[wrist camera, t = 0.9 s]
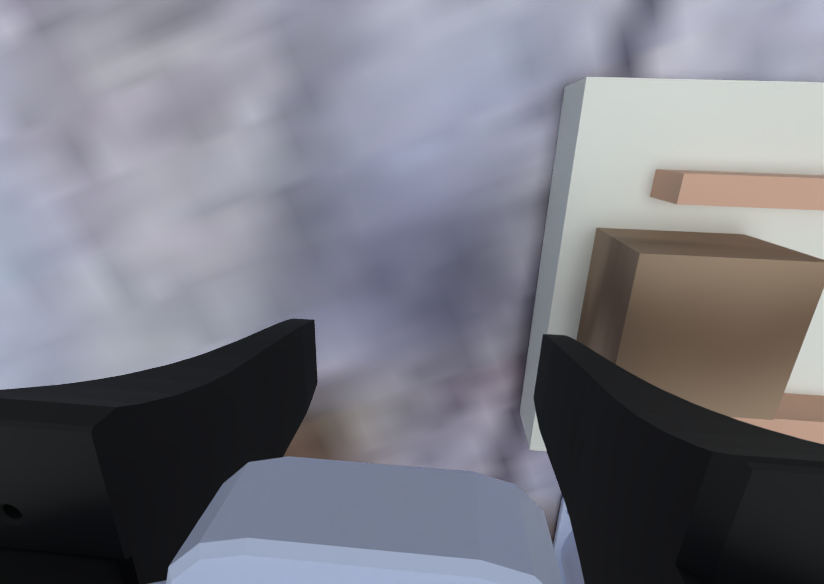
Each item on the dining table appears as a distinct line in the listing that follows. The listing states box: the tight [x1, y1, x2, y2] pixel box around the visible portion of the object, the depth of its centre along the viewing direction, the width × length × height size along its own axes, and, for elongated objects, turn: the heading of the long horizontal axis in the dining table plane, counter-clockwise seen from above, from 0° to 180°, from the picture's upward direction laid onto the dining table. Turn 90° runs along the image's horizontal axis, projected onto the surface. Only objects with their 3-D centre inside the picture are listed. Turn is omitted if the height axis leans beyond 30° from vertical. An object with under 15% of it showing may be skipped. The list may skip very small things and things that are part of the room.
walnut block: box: [576, 228, 824, 420], centre depth 15 cm, size 6×6×4 cm
